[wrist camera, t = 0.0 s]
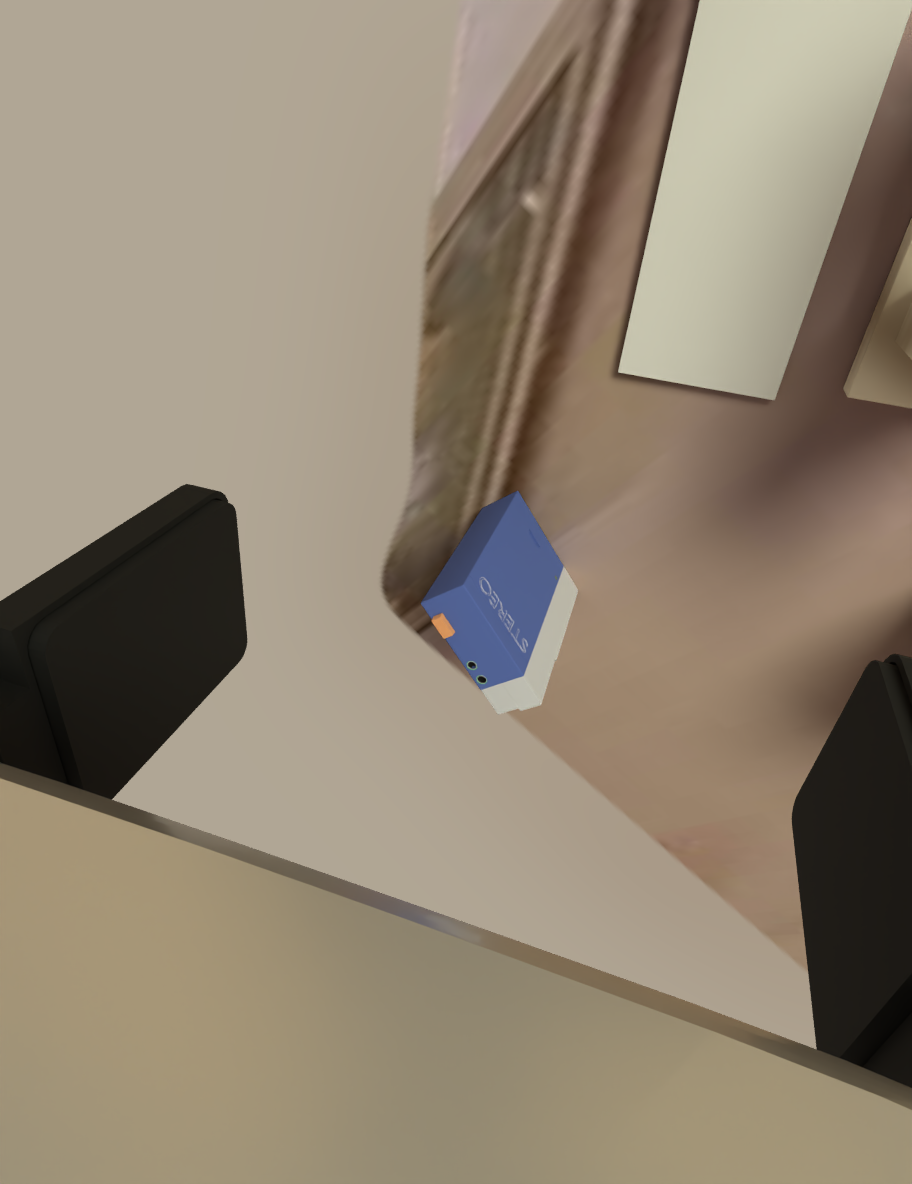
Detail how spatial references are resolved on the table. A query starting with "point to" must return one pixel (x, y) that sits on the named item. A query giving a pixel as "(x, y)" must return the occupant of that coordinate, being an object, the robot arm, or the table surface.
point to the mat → (755, 184)
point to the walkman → (504, 604)
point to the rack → (888, 340)
